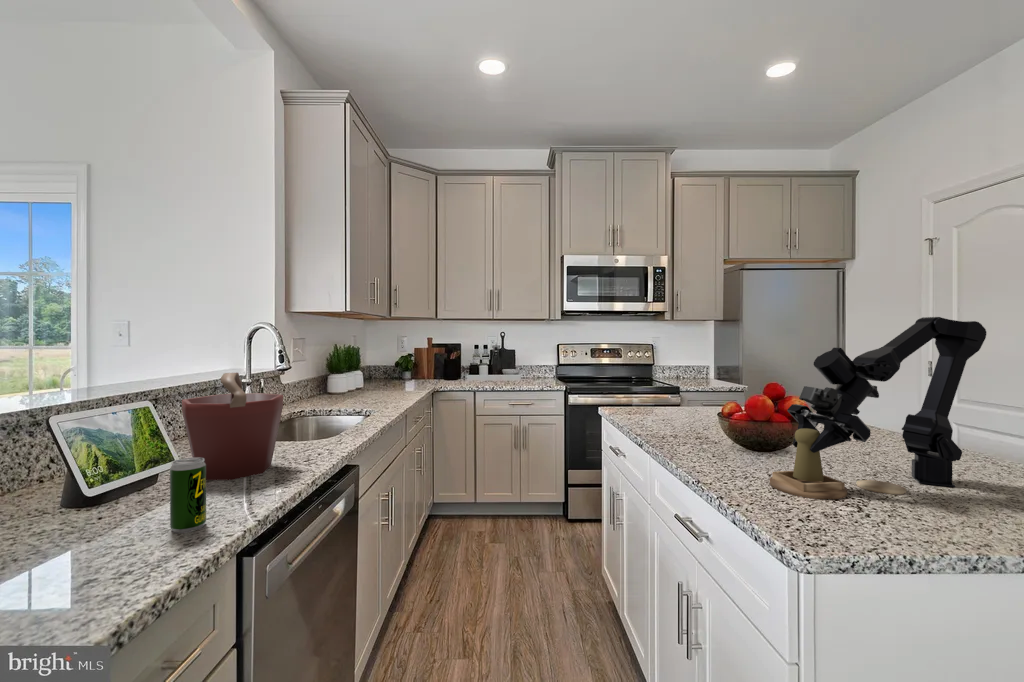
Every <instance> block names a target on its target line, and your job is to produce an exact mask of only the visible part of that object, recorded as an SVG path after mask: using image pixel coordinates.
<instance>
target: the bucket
mask: <svg viewBox="0 0 1024 682" xmlns="http://www.w3.org/2000/svg"><path fill="white" fill-rule="evenodd" d="M220 382H221V384H222V386H223V387H224V388H225V389H226V390H227V391H228V392H229V393H226V394H224V393H223V394H212V395H206V396H198V397H190V398H184V399H181V412H182V417H183V421H184V427H185V430H186V431H185V432H186V435H187V439H188V444H189V448H190V452H191V456H192V457H191V458H193V457H200V458H204V459H205V461H204V462H205V463H206V481H233V480H239V479H243V478H248V477H254V476H256V475H257V476H258V475H262V474H265V472H266V471H267V470H268V469H269V468H270V467H271V466H272V463H273V458H274V453H275V447H276V444H277V443H276V442H277V439H278V433H279V429H280V422H281V419H282V415H283V414H282V413H283V409H284V394H278V393H277V394H275V393H264V392H248V393H246V392H245V391H244V390H243V382H242V380H241V377H240V374H239V372H224V373H223V374H222V375H221V377H220Z"/></svg>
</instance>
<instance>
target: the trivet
mask: <svg viewBox="0 0 1024 682" xmlns="http://www.w3.org/2000/svg"><path fill="white" fill-rule="evenodd" d="M793 472H794V470H781V471H772V473H771V474H772V476H771V477H769V485H770V487H771V488H773V489H774V488H775V489H774V490H776V489H777V490H776V491H779V492H781V491H782V493H785V494H787V493H788V495H792V496H795V497H796V495H797V497H800V496H802V497H801V498H806V497H807V499H813V498H814V499H815V500H816V499H817V500H827V499H831V500H840V498H841V499H844V498H846V497H847V496H848V488H847V487H846V485H845V482H844V481H841V480H839V479H836V478H834V477H831V476H827V475H824V474H823V477H824V480H823V481H805V480H800V479H797V478H795V477H793Z"/></svg>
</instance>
